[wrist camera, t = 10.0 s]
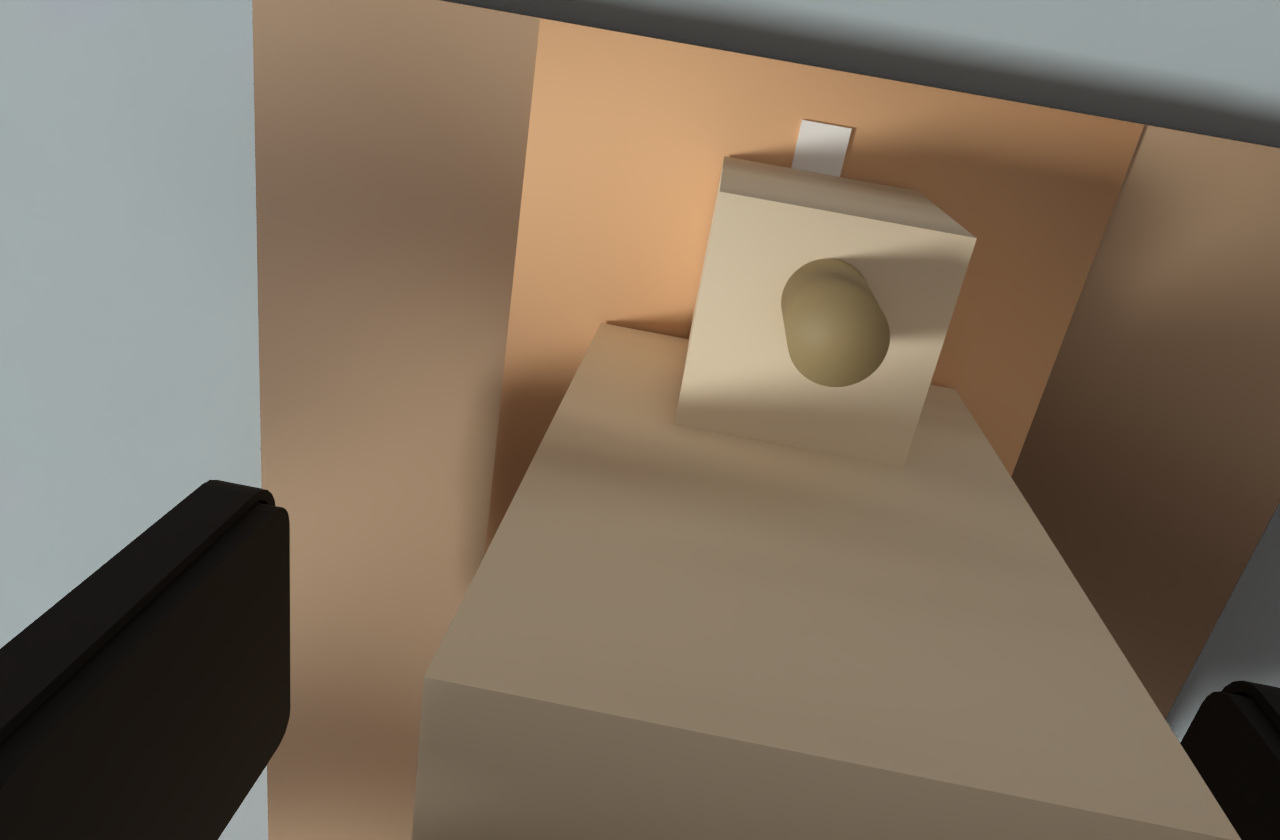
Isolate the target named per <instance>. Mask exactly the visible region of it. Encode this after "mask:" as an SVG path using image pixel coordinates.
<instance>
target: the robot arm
mask: <svg viewBox="0 0 1280 840" xmlns="http://www.w3.org/2000/svg"><path fill="white" fill-rule="evenodd" d="M289 717H290V521H289V514H288V512H287V510H286V509H285V508H283V507H278V506H275V500H274V497H273V495H272V493H271V492H269V491H268V490H265V489H260V488H255V487H250V486H245V485H240V484H235V483H230V482H224V481H219V480H209V481H208V482H206V483H204V484H202V485H201V486H200V487H199V488H197V489H196V490H195V491H194V492H193V493H191V494H190V495H189V496H188V497H186V498H185V499H184V500H183V501H181V502H180V503H179V504H178V505H177V506H175V507H174V508H173V509H172V510H170V511H169V512H168V513H167V514H165V515H164V516H163V517H162V518H161V519H159V520H158V521H157V522H156V523H154V524H153V525H152V526H151V527H150V528H148V529H147V530H146V531H145V532H143V533H142V534H141V535H140V536H138V537H137V538H136V539H135V540H134V541H132V542H131V543H130V544H129V545H127V546H126V547H125V548H124V549H123V550H121V551H120V552H119V553H118V554H116V555H115V556H114V557H113V558H111V559H110V560H109V561H108V562H107V563H105V564H104V565H103V566H102V567H100V568H99V569H98V570H97V571H95V572H94V573H93V574H92V575H91V576H89V577H88V578H87V579H86V580H84V581H83V582H82V583H81V584H80V585H78V586H77V587H76V588H75V589H73V590H72V591H71V592H70V593H68V594H67V595H66V596H65V597H64V598H62V599H61V600H60V601H59V602H57V603H56V604H55V605H54V606H53V607H51V608H50V609H49V610H48V611H46V612H45V613H44V614H43V615H41V616H40V617H39V618H38V619H37V620H35V621H34V622H33V623H32V624H30V625H29V626H28V627H27V628H25V629H24V630H23V631H22V632H21V633H19V634H18V635H17V636H16V637H14V638H13V639H12V640H11V641H10V642H8V643H7V644H6V645H5V646H3V647H2V648H1V649H0V840H218V838H219V837H220V835H221V834H222V832H223V831H224V829H225V828H226V826H227V824H228V823H229V821H230V820H231V818H232V817H233V815H234V814H235V812H236V811H237V809H238V808H239V806H240V805H241V803H242V802H243V800H244V799H245V797H246V796H247V794H248V793H249V791H250V790H251V788H252V786H253V785H254V783H255V782H256V780H257V779H258V777H259V776H260V774H261V773H262V771H263V770H264V768H265V767H266V765H267V764H268V762H269V761H270V759H271V758H272V756H273V755H274V753H275V752H276V750H277V748H278V747H279V745H280V743H281V741H282V739H283V737H284V734H285V732H286V729H287V725H288V722H289ZM1180 744H1181V745H1182V747H1183V749H1184V750H1185V752H1186V753H1187V755H1188V756H1189V758H1190V760H1191V761H1192V763H1193V764H1194V766H1195V768H1196V769H1197V771H1198V772H1199V774H1200V775H1201V777H1202V779H1203V780H1204V782H1205V783H1206V785H1207V786H1208V788H1209V790H1210V791H1211V793H1212V794H1213V796H1214V797H1215V799H1216V801H1217V802H1218V804H1219V805H1220V807H1221V808H1222V810H1223V812H1224V813H1225V815H1226V816H1227V818H1228V820H1229V821H1230V823H1231V824H1232V826H1233V827H1234V829H1235V831H1236V832H1237V834H1238V835H1239V837H1240V838H1241V840H1280V688H1277V687H1272V686H1267V685H1262V684H1257V683H1252V682H1247V681H1235V682H1232V683H1230V684H1229V685H1227V686H1226V687H1224V689H1223V690H1222V691H1220V692H1213V693H1211V694H1210V695H1208V696H1207V697H1206V699H1205V700H1204V701H1203V703H1202V705H1201V706H1200V708H1199V710H1198V712H1197V714H1196V716H1195V717H1194V719H1193V721H1192V723H1191V725H1190V727H1189V728H1188V730H1187V732H1186V734H1185V736H1184V738H1183V739H1182V741H1181V743H1180Z"/></svg>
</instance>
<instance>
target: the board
mask: <svg viewBox="0 0 1280 840" xmlns="http://www.w3.org/2000/svg"><path fill="white" fill-rule="evenodd" d="M252 2H253V54H254V106H255V158H256V210H257V263H258V315H259V367H260V419H261V471H262V489H265V490H268V491H269V492H271V493H272V495H273V497H274V500H275V506H278V507H283V508H285V509H286V510H287V512H288V514H289V521H290V717H289V722H288V725H287V729H286V732H285V734H284V737H283V739H282V741H281V743H280V745H279V747H278V748H277V750H276V752H275V753H274V755H273V756H272V758H271V759H270V761H269V762H268V764H267V785H268V837H269V840H412V829H413V816H414V803H415V789H416V776H417V763H418V749H419V736H420V723H421V709H422V696H423V683H424V676H425V674H426V672H427V670H428V668H429V666H430V664H431V662H432V660H433V658H434V656H435V654H436V652H437V650H438V648H439V646H440V644H441V642H442V640H443V638H444V636H445V634H446V632H447V630H448V628H449V626H450V624H451V622H452V620H453V618H454V616H455V614H456V612H457V610H458V608H459V606H460V604H461V602H462V600H463V598H464V596H465V594H466V592H467V590H468V588H469V586H470V584H471V582H472V580H473V578H474V576H475V574H476V572H477V570H478V568H479V566H480V564H481V562H482V560H483V558H484V556H485V554H486V552H487V550H488V548H489V546H490V544H491V542H492V540H493V538H494V536H495V534H496V532H497V530H498V528H499V526H500V524H501V522H502V520H503V518H504V516H505V514H506V512H507V510H508V508H509V506H510V504H511V502H512V500H513V498H514V496H515V494H516V492H517V490H518V488H519V486H520V484H521V482H522V480H523V478H524V476H525V474H526V472H527V470H528V468H529V466H530V464H531V462H532V460H533V458H534V456H535V454H536V452H537V450H538V448H539V446H540V444H541V442H542V440H543V438H544V436H545V434H546V432H547V430H548V428H549V426H550V424H551V422H552V420H553V418H554V416H555V414H556V412H557V410H558V408H559V406H560V404H561V402H562V400H563V398H564V396H565V394H566V392H567V390H568V388H569V386H570V384H571V382H572V380H573V378H574V376H575V374H576V372H577V370H578V368H579V366H580V364H581V362H582V360H583V358H584V356H585V354H586V352H587V350H588V348H589V346H590V344H591V342H592V340H593V338H594V336H595V334H596V332H597V330H598V328H599V326H600V324H601V323H604V324H610V325H615V326H620V327H626V328H631V329H636V330H642V331H647V332H652V333H658V334H663V335H668V336H674V337H679V338H684V339H689V335H690V330H691V325H692V320H693V315H694V309H695V304H696V299H697V294H698V289H699V284H700V278H701V273H702V268H703V263H704V258H705V253H706V247H707V242H708V237H709V232H710V227H711V222H712V216H713V211H714V206H715V201H716V196H717V191H718V185H719V180H720V175H721V170H722V165H723V160H724V156H726V157H732V158H738V159H743V160H749V161H754V162H760V163H765V164H771V165H776V166H782V167H787V168H793V169H798V170H804V171H810V172H815V173H821V174H826V175H832V176H837V177H843V178H848V179H854V180H859V181H865V182H871V183H876V184H882V185H887V186H893V187H898V188H904V189H909V190H915V191H918V192H920V193H921V194H922V195H923V196H925V197H926V198H927V199H928V200H930V201H931V202H932V203H933V204H935V205H936V206H937V207H938V208H940V209H941V210H942V211H943V212H945V213H946V214H947V215H948V216H950V217H951V218H952V219H953V220H955V221H956V222H957V223H958V224H960V225H961V226H962V227H963V228H965V229H966V230H967V231H968V232H970V233H971V234H972V235H973V236H975V237H976V238H977V239H976V243H975V246H974V249H973V252H972V255H971V258H970V261H969V264H968V268H967V271H966V274H965V277H964V280H963V283H962V286H961V289H960V293H959V296H958V299H957V302H956V305H955V308H954V311H953V314H952V318H951V321H950V324H949V327H948V330H947V333H946V336H945V339H944V343H943V346H942V349H941V352H940V355H939V358H938V361H937V364H936V368H935V371H934V374H933V377H932V380H931V383H930V385H935V386H941V387H946V388H951V389H956V391H957V393H958V394H959V396H960V397H961V399H962V400H963V402H964V404H965V405H966V407H967V408H968V410H969V411H970V413H971V415H972V416H973V418H974V419H975V421H976V423H977V424H978V426H979V427H980V429H981V430H982V432H983V434H984V435H985V437H986V438H987V440H988V441H989V443H990V445H991V446H992V448H993V449H994V451H995V452H996V454H997V456H998V457H999V459H1000V460H1001V462H1002V463H1003V465H1004V467H1005V468H1006V470H1007V471H1008V473H1009V474H1010V476H1011V478H1012V479H1013V481H1014V482H1015V484H1016V486H1017V487H1018V489H1019V490H1020V492H1021V493H1022V495H1023V497H1024V498H1025V500H1026V501H1027V503H1028V504H1029V506H1030V508H1031V509H1032V511H1033V512H1034V514H1035V515H1036V517H1037V519H1038V520H1039V522H1040V523H1041V525H1042V526H1043V528H1044V530H1045V531H1046V533H1047V534H1048V536H1049V538H1050V539H1051V541H1052V542H1053V544H1054V545H1055V547H1056V549H1057V550H1058V552H1059V553H1060V555H1061V556H1062V558H1063V560H1064V561H1065V563H1066V564H1067V566H1068V567H1069V569H1070V571H1071V572H1072V574H1073V575H1074V577H1075V578H1076V580H1077V582H1078V583H1079V585H1080V586H1081V588H1082V590H1083V591H1084V593H1085V594H1086V596H1087V597H1088V599H1089V601H1090V602H1091V604H1092V605H1093V607H1094V608H1095V610H1096V612H1097V613H1098V615H1099V616H1100V618H1101V619H1102V621H1103V623H1104V624H1105V626H1106V627H1107V629H1108V630H1109V632H1110V634H1111V635H1112V637H1113V638H1114V640H1115V641H1116V643H1117V645H1118V646H1119V648H1120V649H1121V651H1122V653H1123V654H1124V656H1125V657H1126V659H1127V660H1128V662H1129V664H1130V665H1131V667H1132V668H1133V670H1134V671H1135V673H1136V675H1137V676H1138V678H1139V679H1140V681H1141V682H1142V684H1143V686H1144V687H1145V689H1146V690H1147V692H1148V693H1149V695H1150V697H1151V698H1152V700H1153V701H1154V703H1155V705H1156V706H1157V708H1158V709H1159V711H1160V712H1161V714H1162V716H1163V717H1164V719H1166V717H1167V715H1168V713H1169V711H1170V709H1171V707H1172V706H1173V704H1174V702H1175V700H1176V698H1177V696H1178V694H1179V692H1180V690H1181V689H1182V687H1183V685H1184V683H1185V681H1186V679H1187V677H1188V675H1189V673H1190V671H1191V670H1192V668H1193V666H1194V664H1195V662H1196V660H1197V658H1198V656H1199V654H1200V653H1201V651H1202V649H1203V647H1204V645H1205V643H1206V641H1207V639H1208V637H1209V635H1210V634H1211V632H1212V630H1213V628H1214V626H1215V624H1216V622H1217V620H1218V618H1219V617H1220V615H1221V613H1222V611H1223V609H1224V607H1225V605H1226V603H1227V601H1228V599H1229V598H1230V596H1231V594H1232V592H1233V590H1234V588H1235V586H1236V584H1237V582H1238V581H1239V579H1240V577H1241V575H1242V573H1243V571H1244V569H1245V567H1246V565H1247V563H1248V562H1249V560H1250V558H1251V556H1252V554H1253V552H1254V550H1255V548H1256V546H1257V545H1258V543H1259V541H1260V539H1261V537H1262V535H1263V533H1264V531H1265V529H1266V527H1267V526H1268V524H1269V522H1270V520H1271V518H1272V516H1273V514H1274V512H1275V510H1276V509H1277V507H1278V505H1279V503H1280V148H1277V147H1272V146H1266V145H1260V144H1255V143H1249V142H1243V141H1238V140H1232V139H1226V138H1221V137H1215V136H1209V135H1204V134H1198V133H1192V132H1187V131H1181V130H1175V129H1170V128H1164V127H1158V126H1153V125H1147V124H1141V123H1136V122H1130V121H1124V120H1119V119H1113V118H1107V117H1102V116H1096V115H1090V114H1085V113H1079V112H1073V111H1068V110H1062V109H1056V108H1051V107H1045V106H1039V105H1033V104H1028V103H1022V102H1016V101H1011V100H1005V99H999V98H994V97H988V96H982V95H977V94H971V93H965V92H960V91H954V90H948V89H943V88H937V87H931V86H926V85H920V84H914V83H909V82H903V81H897V80H892V79H886V78H880V77H875V76H869V75H863V74H858V73H852V72H846V71H841V70H835V69H829V68H824V67H818V66H812V65H807V64H801V63H795V62H790V61H784V60H778V59H773V58H767V57H761V56H756V55H750V54H744V53H739V52H733V51H727V50H722V49H716V48H710V47H705V46H699V45H693V44H688V43H682V42H676V41H671V40H665V39H659V38H654V37H648V36H642V35H636V34H631V33H625V32H619V31H614V30H608V29H602V28H597V27H591V26H585V25H580V24H574V23H568V22H563V21H557V20H551V19H546V18H540V17H534V16H529V15H523V14H517V13H512V12H506V11H500V10H495V9H489V8H483V7H478V6H472V5H466V4H461V3H455V2H449V1H444V0H252Z"/></svg>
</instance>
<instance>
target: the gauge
mask: <svg viewBox="0 0 1280 840" xmlns="http://www.w3.org/2000/svg"><path fill="white" fill-rule="evenodd" d="M976 239H977V238H976V237H975V236H973V235H972V234H971V233H970V232H968V231H967V230H966V229H965V228H963V227H962V226H961V225H960V224H958V223H957V222H956V221H955V220H953V219H952V218H951V217H950V216H948V215H947V214H946V213H945V212H943V211H942V210H941V209H940V208H938V207H937V206H936V205H935V204H933V203H932V202H931V201H930V200H928V199H927V198H926V197H925V196H923V195H922V194H921V193H920V192H918V191H915V190H909V189H904V188H898V187H893V186H887V185H882V184H876V183H871V182H865V181H859V180H854V179H848V178H843V177H837V176H832V175H826V174H821V173H815V172H810V171H804V170H798V169H793V168H787V167H782V166H776V165H771V164H765V163H760V162H754V161H749V160H743V159H738V158H732V157H726V156H724V160H723V165H722V170H721V175H720V180H719V185H718V191H717V196H716V201H715V206H714V211H713V216H712V222H711V227H710V232H709V237H708V242H707V247H706V253H705V258H704V263H703V268H702V273H701V278H700V284H699V289H698V294H697V299H696V304H695V309H694V315H693V320H692V325H691V330H690V335H689V339H684V338H679V337H674V336H668V335H663V334H658V333H652V332H647V331H642V330H636V329H631V328H626V327H620V326H615V325H610V324H604V323H601V324H600V326H599V328H598V330H597V332H596V334H595V336H594V338H593V340H592V342H591V344H590V346H589V348H588V350H587V352H586V354H585V356H584V358H583V360H582V362H581V364H580V366H579V368H578V370H577V372H576V374H575V376H574V378H573V380H572V382H571V384H570V386H569V388H568V390H567V392H566V394H565V396H564V398H563V400H562V402H561V404H560V406H559V408H558V410H557V412H556V414H555V416H554V418H553V420H552V422H551V424H550V426H549V428H548V430H547V432H546V434H545V436H544V438H543V440H542V442H541V444H540V446H539V448H538V450H537V452H536V454H535V456H534V458H533V460H532V462H531V464H530V466H529V468H528V470H527V472H526V474H525V476H524V478H523V480H522V482H521V484H520V486H519V488H518V490H517V492H516V494H515V496H514V498H513V500H512V502H511V504H510V506H509V508H508V510H507V512H506V514H505V516H504V518H503V520H502V522H501V524H500V526H499V528H498V530H497V532H496V534H495V536H494V538H493V540H492V542H491V544H490V546H489V548H488V550H487V552H486V554H485V556H484V558H483V560H482V562H481V564H480V566H479V568H478V570H477V572H476V574H475V576H474V578H473V580H472V582H471V584H470V586H469V588H468V590H467V592H466V594H465V596H464V598H463V600H462V602H461V604H460V606H459V608H458V610H457V612H456V614H455V616H454V618H453V620H452V622H451V624H450V626H449V628H448V630H447V632H446V634H445V636H444V638H443V640H442V642H441V644H440V646H439V648H438V650H437V652H436V654H435V656H434V658H433V660H432V662H431V664H430V666H429V668H428V670H427V672H426V674H425V676H424V683H423V696H422V709H421V723H420V736H419V749H418V763H417V776H416V789H415V803H414V816H413V829H412V840H1241V838H1240V837H1239V835H1238V834H1237V832H1236V831H1235V829H1234V827H1233V826H1232V824H1231V823H1230V821H1229V820H1228V818H1227V816H1226V815H1225V813H1224V812H1223V810H1222V808H1221V807H1220V805H1219V804H1218V802H1217V801H1216V799H1215V797H1214V796H1213V794H1212V793H1211V791H1210V790H1209V788H1208V786H1207V785H1206V783H1205V782H1204V780H1203V779H1202V777H1201V775H1200V774H1199V772H1198V771H1197V769H1196V768H1195V766H1194V764H1193V763H1192V761H1191V760H1190V758H1189V756H1188V755H1187V753H1186V752H1185V750H1184V749H1183V747H1182V745H1181V744H1180V742H1179V741H1178V739H1177V738H1176V736H1175V734H1174V733H1173V731H1172V730H1171V728H1170V727H1169V725H1168V723H1167V722H1166V720H1165V719H1164V717H1163V716H1162V714H1161V712H1160V711H1159V709H1158V708H1157V706H1156V705H1155V703H1154V701H1153V700H1152V698H1151V697H1150V695H1149V693H1148V692H1147V690H1146V689H1145V687H1144V686H1143V684H1142V682H1141V681H1140V679H1139V678H1138V676H1137V675H1136V673H1135V671H1134V670H1133V668H1132V667H1131V665H1130V664H1129V662H1128V660H1127V659H1126V657H1125V656H1124V654H1123V653H1122V651H1121V649H1120V648H1119V646H1118V645H1117V643H1116V641H1115V640H1114V638H1113V637H1112V635H1111V634H1110V632H1109V630H1108V629H1107V627H1106V626H1105V624H1104V623H1103V621H1102V619H1101V618H1100V616H1099V615H1098V613H1097V612H1096V610H1095V608H1094V607H1093V605H1092V604H1091V602H1090V601H1089V599H1088V597H1087V596H1086V594H1085V593H1084V591H1083V590H1082V588H1081V586H1080V585H1079V583H1078V582H1077V580H1076V578H1075V577H1074V575H1073V574H1072V572H1071V571H1070V569H1069V567H1068V566H1067V564H1066V563H1065V561H1064V560H1063V558H1062V556H1061V555H1060V553H1059V552H1058V550H1057V549H1056V547H1055V545H1054V544H1053V542H1052V541H1051V539H1050V538H1049V536H1048V534H1047V533H1046V531H1045V530H1044V528H1043V526H1042V525H1041V523H1040V522H1039V520H1038V519H1037V517H1036V515H1035V514H1034V512H1033V511H1032V509H1031V508H1030V506H1029V504H1028V503H1027V501H1026V500H1025V498H1024V497H1023V495H1022V493H1021V492H1020V490H1019V489H1018V487H1017V486H1016V484H1015V482H1014V481H1013V479H1012V478H1011V476H1010V474H1009V473H1008V471H1007V470H1006V468H1005V467H1004V465H1003V463H1002V462H1001V460H1000V459H999V457H998V456H997V454H996V452H995V451H994V449H993V448H992V446H991V445H990V443H989V441H988V440H987V438H986V437H985V435H984V434H983V432H982V430H981V429H980V427H979V426H978V424H977V423H976V421H975V419H974V418H973V416H972V415H971V413H970V411H969V410H968V408H967V407H966V405H965V404H964V402H963V400H962V399H961V397H960V396H959V394H958V393H957V391H956V389H951V388H946V387H941V386H935V385H930V383H931V380H932V377H933V374H934V371H935V368H936V364H937V361H938V358H939V355H940V352H941V349H942V346H943V343H944V339H945V336H946V333H947V330H948V327H949V324H950V321H951V318H952V314H953V311H954V308H955V305H956V302H957V299H958V296H959V293H960V289H961V286H962V283H963V280H964V277H965V274H966V271H967V268H968V264H969V261H970V258H971V255H972V252H973V249H974V246H975V243H976Z"/></svg>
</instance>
